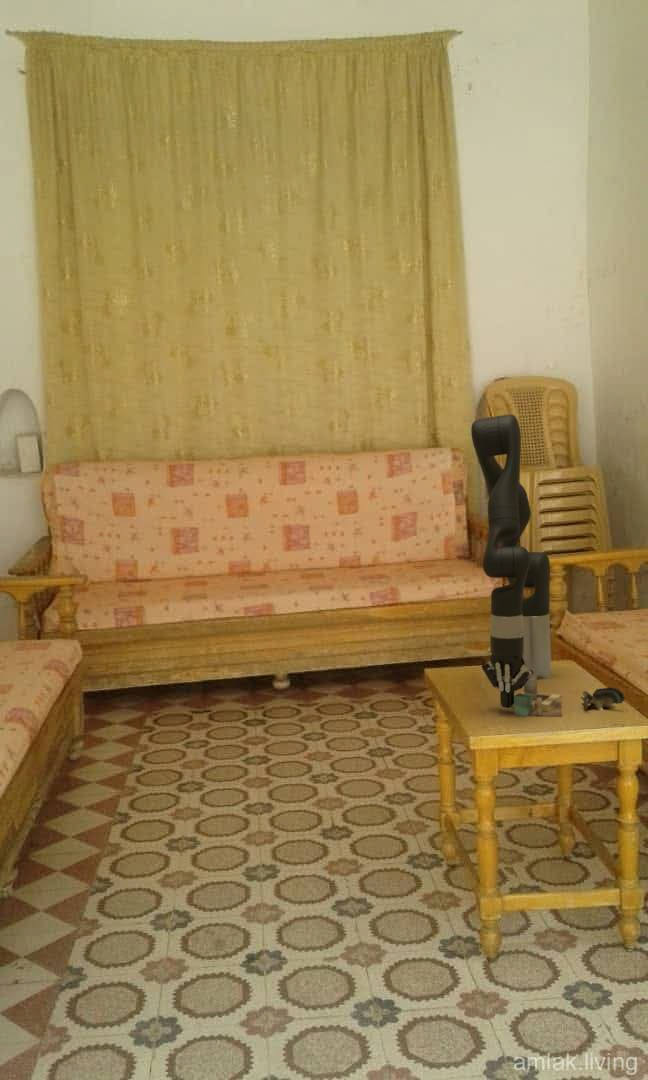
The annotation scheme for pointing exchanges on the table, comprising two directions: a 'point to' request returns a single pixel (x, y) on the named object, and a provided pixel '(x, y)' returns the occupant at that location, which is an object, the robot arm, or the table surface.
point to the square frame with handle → (534, 703)
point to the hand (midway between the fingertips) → (507, 706)
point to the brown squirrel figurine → (602, 698)
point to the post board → (544, 714)
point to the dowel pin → (539, 706)
